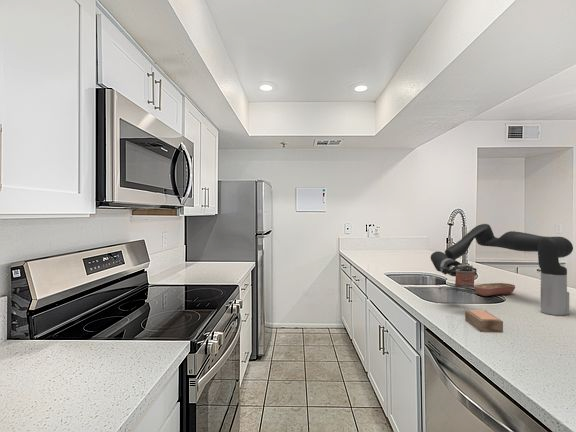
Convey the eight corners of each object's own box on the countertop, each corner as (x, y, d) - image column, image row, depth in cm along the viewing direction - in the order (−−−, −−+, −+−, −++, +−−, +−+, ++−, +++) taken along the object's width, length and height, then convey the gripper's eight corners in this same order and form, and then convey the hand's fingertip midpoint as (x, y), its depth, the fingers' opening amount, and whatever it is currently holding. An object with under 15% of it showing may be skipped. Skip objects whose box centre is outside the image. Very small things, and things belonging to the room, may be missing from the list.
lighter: (472, 284, 158) (473, 263, 156) (475, 287, 155) (477, 266, 153) (453, 284, 159) (454, 263, 157) (456, 287, 156) (457, 266, 154)
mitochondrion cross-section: (484, 298, 181) (484, 288, 181) (469, 294, 191) (469, 285, 191) (519, 295, 188) (519, 285, 187) (503, 291, 197) (503, 282, 197)
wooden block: (485, 320, 145) (485, 309, 145) (503, 332, 131) (503, 320, 131) (465, 319, 146) (465, 309, 146) (480, 331, 132) (480, 320, 132)
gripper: (466, 274, 172) (481, 282, 156) (435, 274, 173) (447, 282, 157) (466, 259, 172) (481, 265, 155) (435, 259, 173) (447, 265, 157)
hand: (464, 273), depth 156 cm, fingers closed on lighter, 8 cm apart
